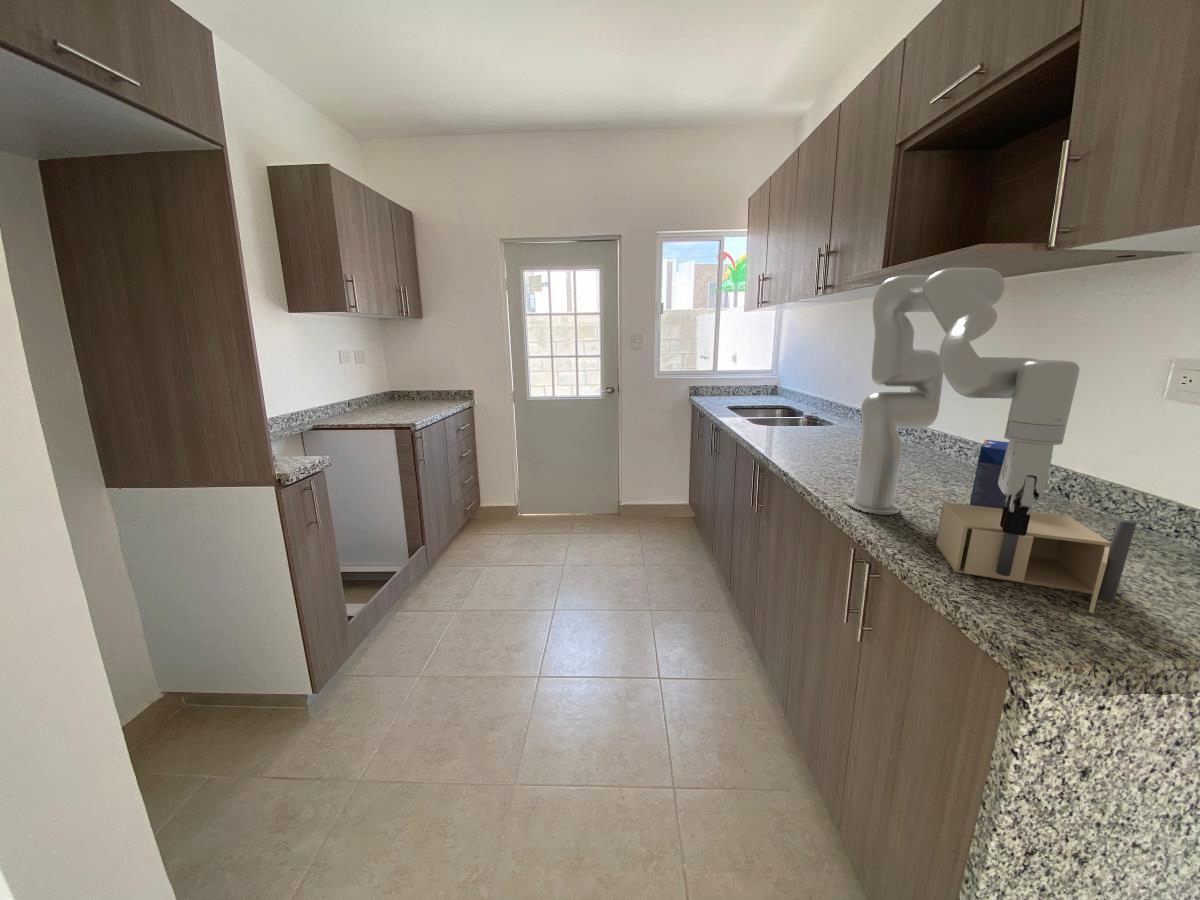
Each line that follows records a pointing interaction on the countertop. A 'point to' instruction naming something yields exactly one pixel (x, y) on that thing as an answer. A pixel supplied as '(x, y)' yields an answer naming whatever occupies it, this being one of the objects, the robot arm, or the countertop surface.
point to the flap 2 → (1113, 564)
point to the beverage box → (989, 476)
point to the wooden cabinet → (1056, 552)
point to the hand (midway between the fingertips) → (1012, 530)
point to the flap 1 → (998, 555)
